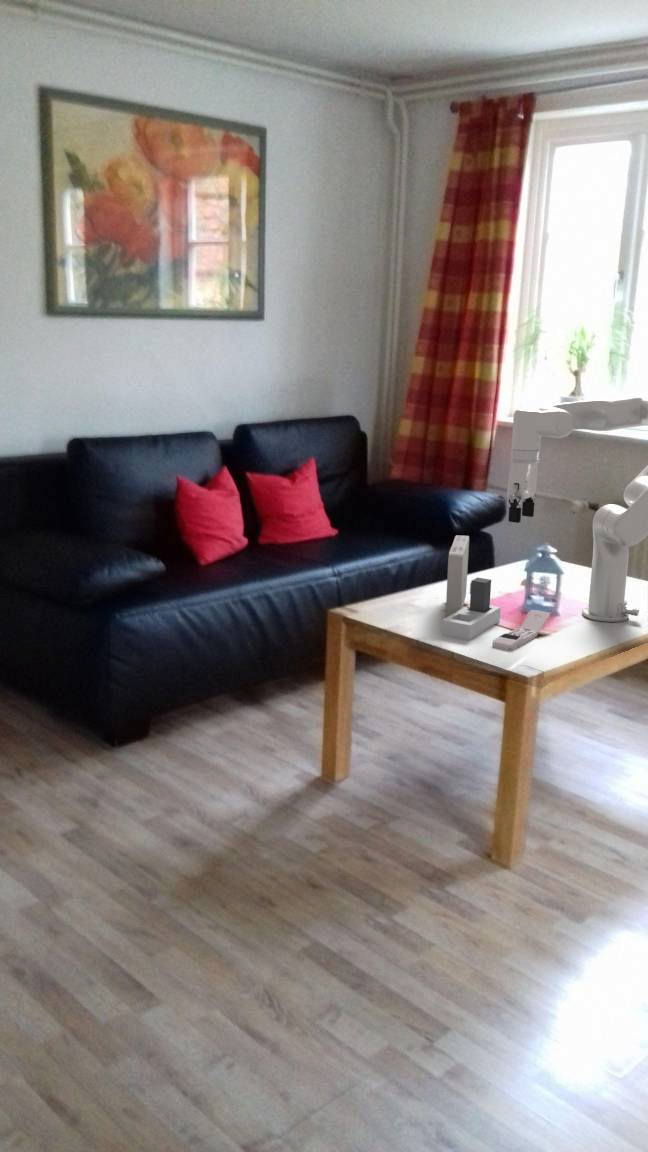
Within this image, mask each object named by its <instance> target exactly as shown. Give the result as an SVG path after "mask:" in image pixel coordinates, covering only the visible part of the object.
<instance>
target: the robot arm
mask: <svg viewBox="0 0 648 1152" xmlns="http://www.w3.org/2000/svg"><path fill="white" fill-rule="evenodd" d="M512 419H513V420H512V436H511V448H510V449H511V453H510V462H511V463H510V468H509V473H508V474H509V475H508V481H507V482H508V483H507V492H506V497H507V499H508V520H507V521H508V522H509V523H516V524H519V523H521V518H522V517H529V518H533V517H534V514H535V502H536V497H535V496H536V494H537V488H538V487H537V484H538V463H540V461H541V460H540V459H541V457H540V456H541V444H542V437H545V438H546V437H547V438H554V439H562V438H565V437H568V436H569V435H570V434H571V433H572V432H573V431H574V430H588V431H597V432H609V431H614V430H621V429H627V428H636V427H643V426H648V392H645V393H637V394H630V395H624V396H618V397H616V396H615V397H611V398H609V397H608V398H602V399H591V400H590V399H589V400H583V401H574V402H573V401H571V402H562V403H556V404H549V405H545V406H542V407H539V408H538V409H536V408H518V409H516V410H515V411H514V412H513V418H512ZM623 500H624V502H625V503H626V505H627V506H628V508H626V507H624V506H621V505H619V504H615V503H614V504H613V503H611V504H605V505H603V506H601V507H600V508H599V509H598V510H597V511H596V512H595V513H594V516H593V519H592V537H593V550H592V551H593V552H592V561H591V563H592V564H591V571H590V573H591V575H590V585H589V594H588V595H589V598H588V606H587V607H583V609H582V610H581V611H582V613H581V614H582V615H583V617H585V618H588V619H590V620H594V621H599V622H605V623H606V622H607V623H618V622H624V621H627V620H628V619H629V616H635V617H638V616H639V613H640V609H639V608H638V607H636V606H629V605H628V600H625V597H626V596H625V595H626V587H627V586H626V585H627V577H628V576H627V575H628V574H627V573H628V565H629V557H630V554H629V552H630V551H629V547H633V546H636V545H637V544H639V543H641V542H642V541H643V540H644V539H646V538H647V536H648V464H647V465H646V466H645V467H644V468H643V469H642V471H641V472H639V473H638V475H637V476H635V478H634V479H632V481H631V482H630V483H628V484H627V485H626V487H625V489H624V492H623ZM521 506H522V507H521Z"/></svg>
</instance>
